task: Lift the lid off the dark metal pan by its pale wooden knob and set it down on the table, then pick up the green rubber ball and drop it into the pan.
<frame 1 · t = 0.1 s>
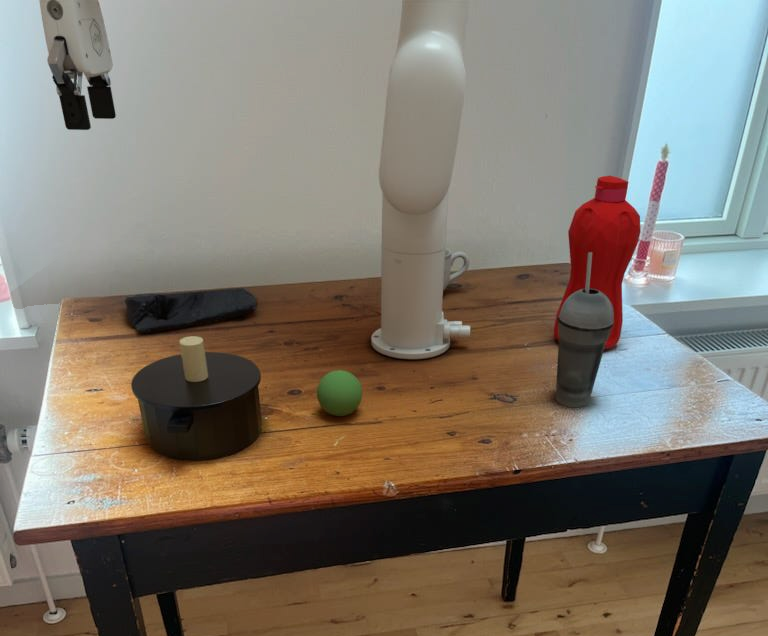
hand: (92, 123, 104), 31 cm above the table, tool pointing down, fingers open, 9 cm apart
ball: (339, 393, 100), point 3 cm above the table
lid: (197, 381, 93), point 7 cm above the table, touching pan
pan: (204, 431, 97), on the table
beverage cup: (571, 401, 105), on the table
dark slate chunk: (193, 314, 131), on the table
teacup: (429, 295, 140), on the table
water bottle: (589, 343, 122), on the table
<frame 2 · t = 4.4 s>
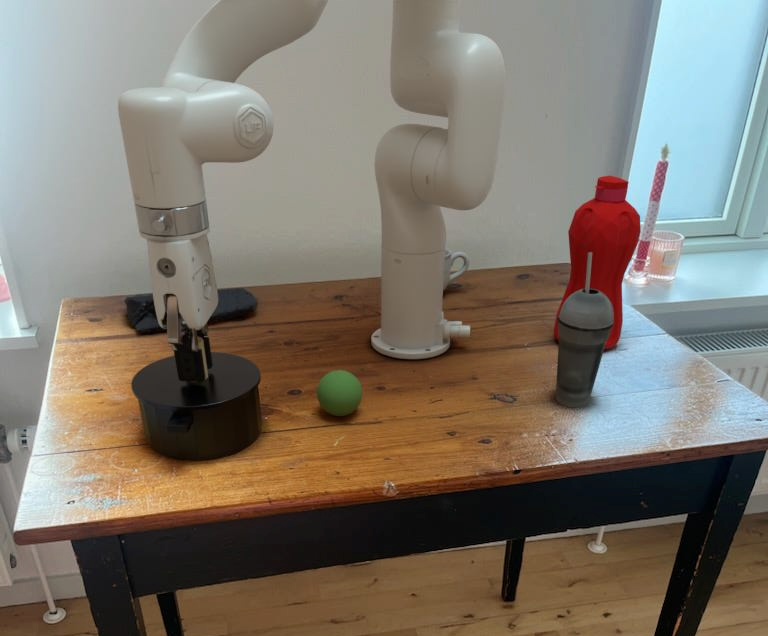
hand: (196, 372, 92), 8 cm above the table, tool pointing down, fingers closed on lid, 2 cm apart
lid: (197, 381, 93), point 7 cm above the table, touching gripper, pan
everything else where it was.
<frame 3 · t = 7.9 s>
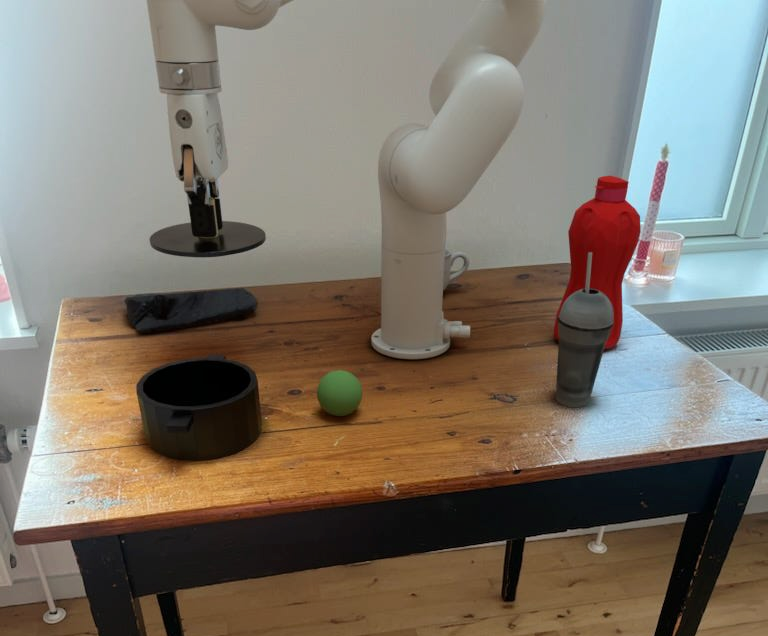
hand: (207, 231, 103), 20 cm above the table, tool pointing down, fingers closed on lid, 2 cm apart
lid: (208, 240, 103), point 18 cm above the table, touching gripper
everything else where it was.
when the fingers open (2 cm above the table, at t = 11.3 s): lid stays where it is, point 1 cm above the table.
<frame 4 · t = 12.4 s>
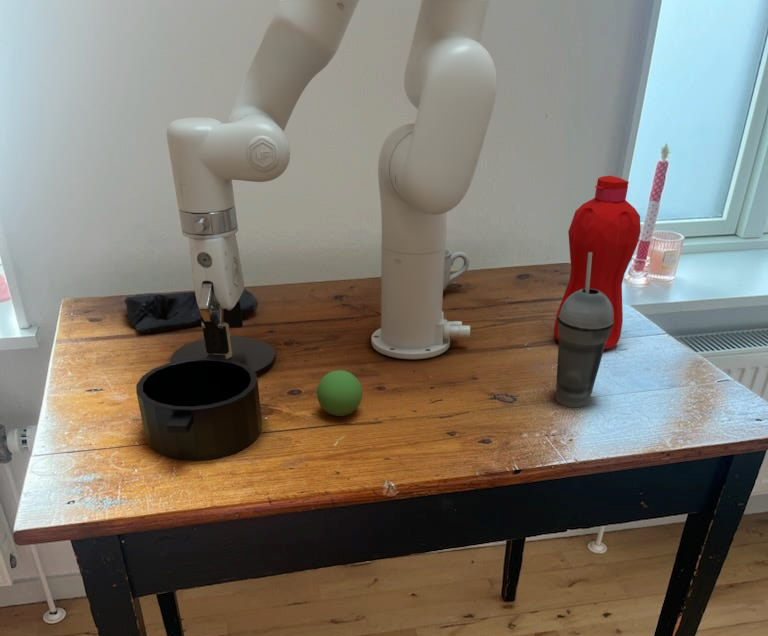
hand: (225, 339, 112), 4 cm above the table, tool pointing down, fingers open, 9 cm apart
lid: (223, 359, 114), point 1 cm above the table
everything else where it was.
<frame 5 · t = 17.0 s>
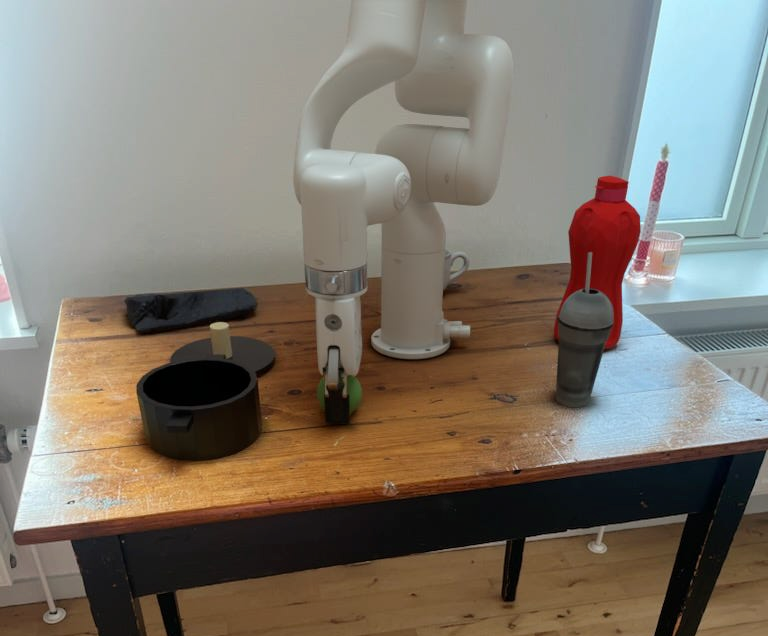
hand: (340, 409, 101), 1 cm above the table, tool pointing down, fingers closed on ball, 5 cm apart
ball: (339, 393, 100), point 3 cm above the table, touching gripper
everything else where it was.
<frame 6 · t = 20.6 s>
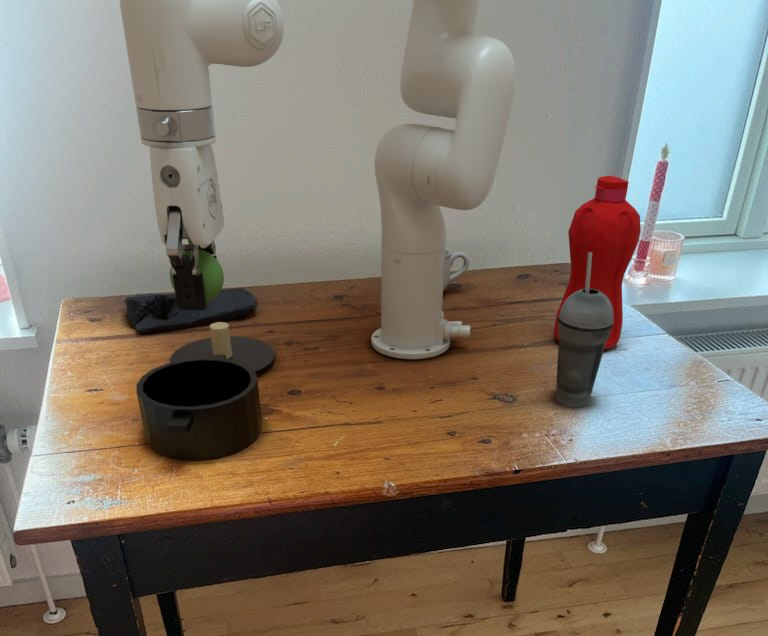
hand: (199, 297, 87), 18 cm above the table, tool pointing down, fingers closed on ball, 5 cm apart
ball: (197, 276, 86), point 20 cm above the table, touching gripper
everything else where it was.
when the fingers open (3 cm above the table, at t = 24.2 s): ball drops 2 cm, resting on pan.
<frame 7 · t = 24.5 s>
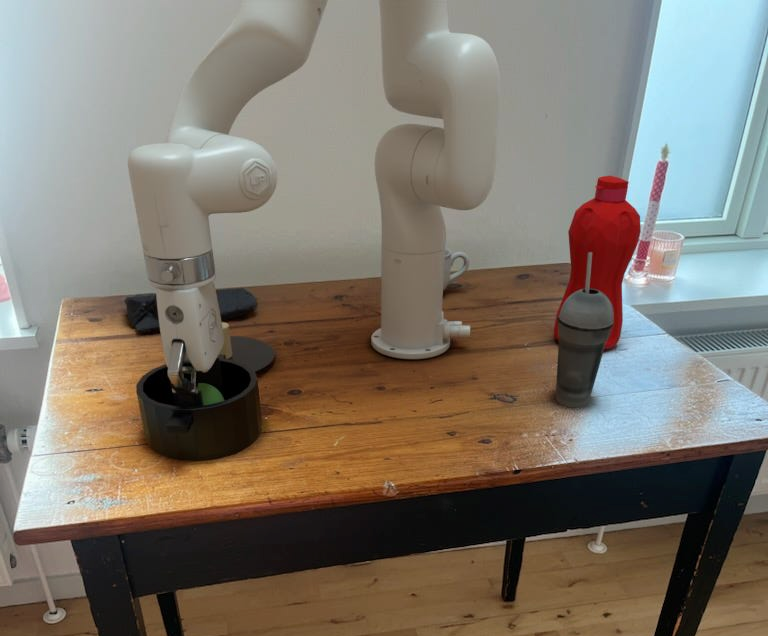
hand: (201, 403, 95), 4 cm above the table, tool pointing down, fingers open, 8 cm apart
ball: (201, 406, 95), point 3 cm above the table, touching pan
everything else where it was.
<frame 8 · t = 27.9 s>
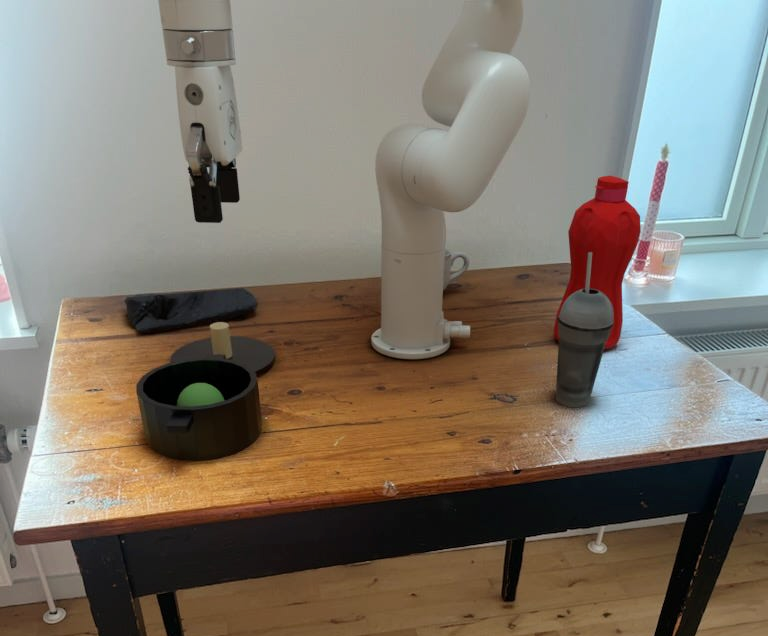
hand: (218, 211, 93), 24 cm above the table, tool pointing down, fingers open, 9 cm apart
nothing on the table moved.
at the end: ball inside the target area in the pan (0.1 cm from its centre), point 3.5 cm above the pan's base; lid inside the target area (0.2 cm from its centre), point 0.6 cm above the table; lid tilted 0° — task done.
